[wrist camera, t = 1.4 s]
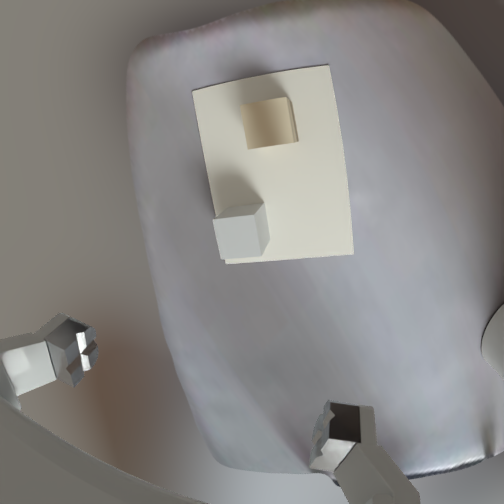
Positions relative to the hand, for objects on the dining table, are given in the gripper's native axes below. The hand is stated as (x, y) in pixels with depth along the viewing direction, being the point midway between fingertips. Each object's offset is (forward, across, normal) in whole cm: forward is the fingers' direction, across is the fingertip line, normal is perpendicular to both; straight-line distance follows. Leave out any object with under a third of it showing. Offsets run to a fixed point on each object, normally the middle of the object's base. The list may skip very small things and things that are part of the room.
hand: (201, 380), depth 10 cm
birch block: (+29, +3, -8) cm, 30 cm away
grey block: (+29, +4, +4) cm, 30 cm away
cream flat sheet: (+29, +2, -3) cm, 30 cm away
